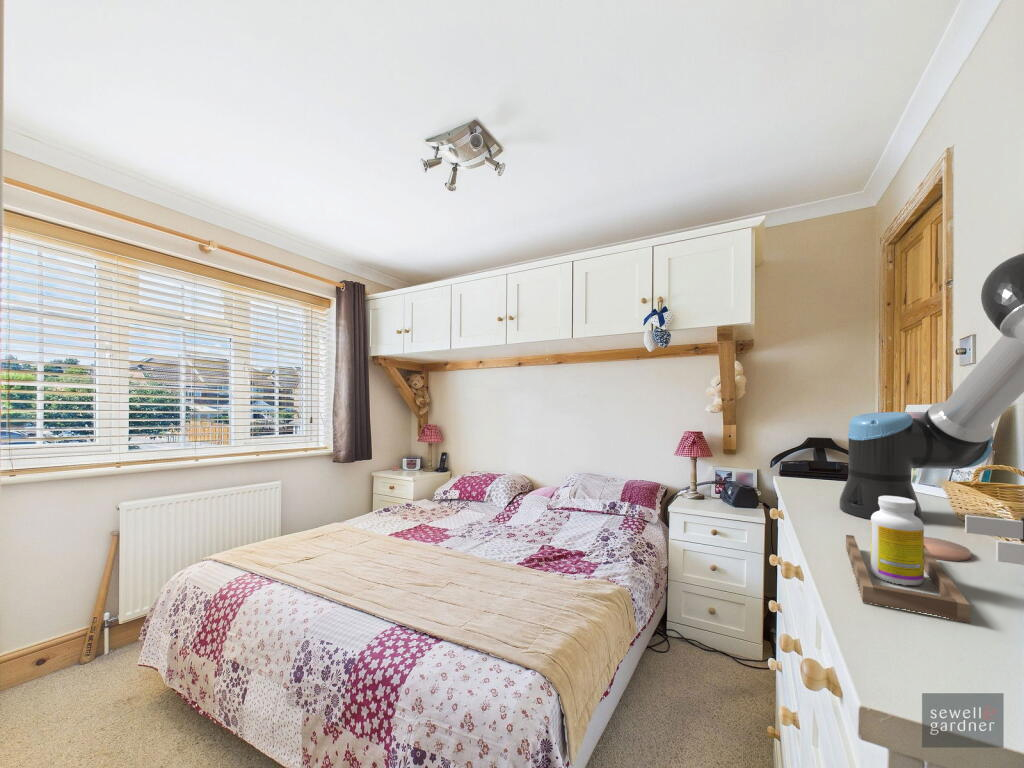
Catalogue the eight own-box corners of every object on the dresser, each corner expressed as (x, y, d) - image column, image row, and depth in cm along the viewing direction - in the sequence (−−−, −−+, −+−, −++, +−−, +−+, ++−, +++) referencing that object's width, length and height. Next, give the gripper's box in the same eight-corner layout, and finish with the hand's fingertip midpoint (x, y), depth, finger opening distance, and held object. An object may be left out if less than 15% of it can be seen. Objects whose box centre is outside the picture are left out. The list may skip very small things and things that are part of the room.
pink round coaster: (893, 537, 95) (893, 532, 95) (960, 546, 90) (960, 541, 90) (903, 554, 86) (903, 549, 86) (978, 565, 81) (978, 559, 81)
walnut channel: (846, 547, 90) (846, 534, 90) (924, 559, 84) (924, 545, 84) (862, 602, 68) (862, 585, 68) (969, 623, 63) (969, 604, 63)
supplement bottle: (934, 589, 72) (934, 505, 72) (884, 585, 74) (885, 504, 73) (907, 571, 79) (907, 494, 79) (862, 568, 80) (862, 493, 80)
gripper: (1296, 639, 50) (1013, 594, 60) (1144, 559, 71) (955, 536, 82) (1297, 568, 49) (1013, 535, 60) (1144, 509, 71) (955, 493, 82)
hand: (979, 536), depth 71 cm, fingers open, 13 cm apart
